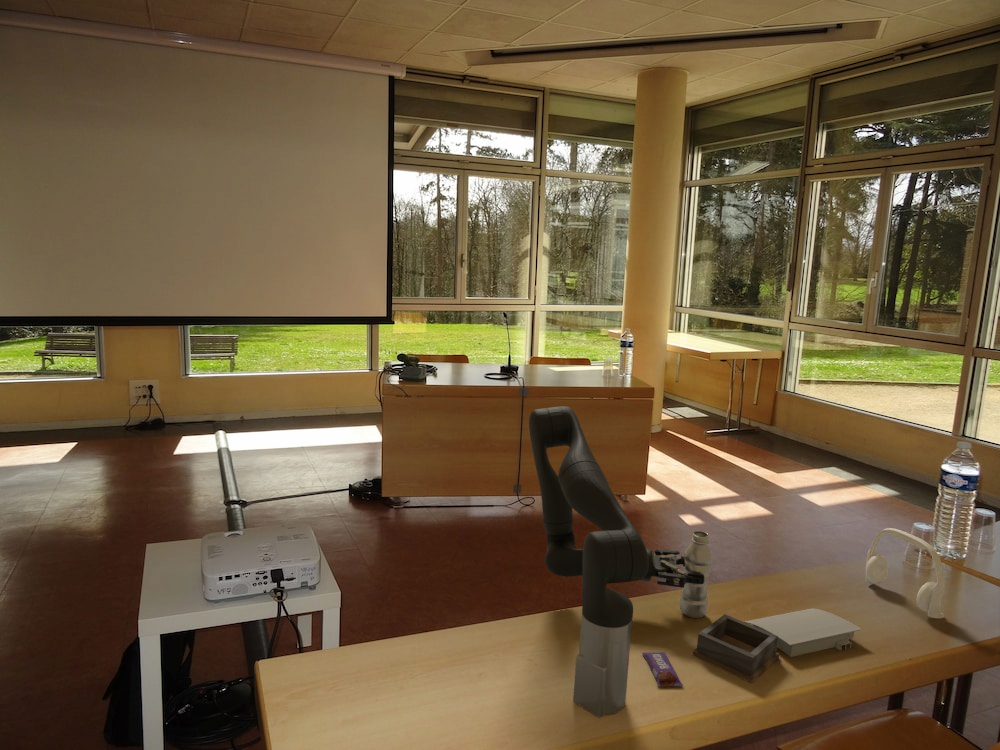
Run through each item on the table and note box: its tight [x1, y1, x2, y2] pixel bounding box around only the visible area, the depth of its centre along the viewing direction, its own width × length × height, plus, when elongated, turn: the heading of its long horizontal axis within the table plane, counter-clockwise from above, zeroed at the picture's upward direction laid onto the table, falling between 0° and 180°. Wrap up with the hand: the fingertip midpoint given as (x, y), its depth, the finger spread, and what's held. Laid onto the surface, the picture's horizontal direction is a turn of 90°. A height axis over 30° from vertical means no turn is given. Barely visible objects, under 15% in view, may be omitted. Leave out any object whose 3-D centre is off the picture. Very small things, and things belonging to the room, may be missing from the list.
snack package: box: [642, 651, 684, 687], centre depth 142 cm, size 12×2×5 cm
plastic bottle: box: [679, 530, 714, 619], centre depth 162 cm, size 6×7×20 cm
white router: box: [744, 607, 863, 658], centre depth 156 cm, size 15×23×4 cm, turn 112°
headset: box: [864, 527, 946, 619], centre depth 174 cm, size 20×7×18 cm, turn 20°
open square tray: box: [692, 613, 780, 684], centre depth 147 cm, size 13×13×5 cm
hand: (701, 570), depth 162 cm, fingers open, 8 cm apart
